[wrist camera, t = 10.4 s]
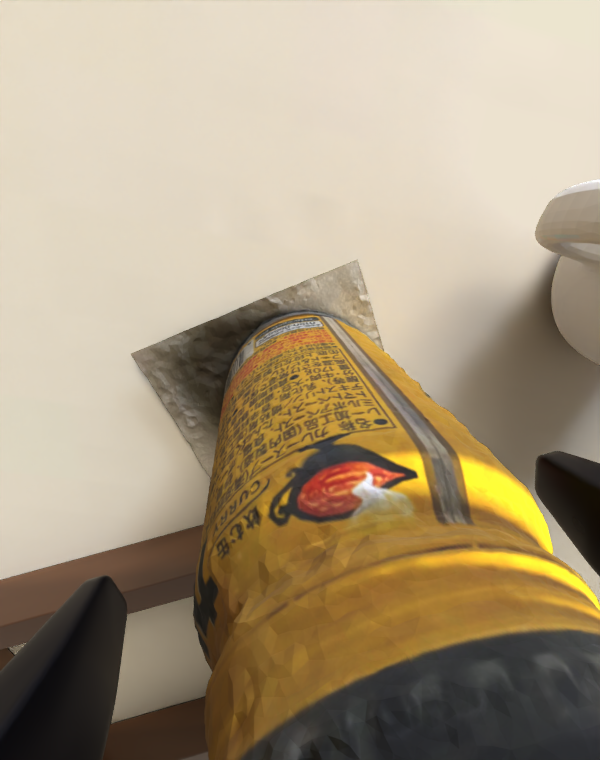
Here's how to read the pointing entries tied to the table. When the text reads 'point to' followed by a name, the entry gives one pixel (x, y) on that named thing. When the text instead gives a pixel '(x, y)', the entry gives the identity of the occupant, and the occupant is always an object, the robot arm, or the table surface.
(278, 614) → the condiment
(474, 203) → the table surface
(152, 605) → the holder
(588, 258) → the cup
